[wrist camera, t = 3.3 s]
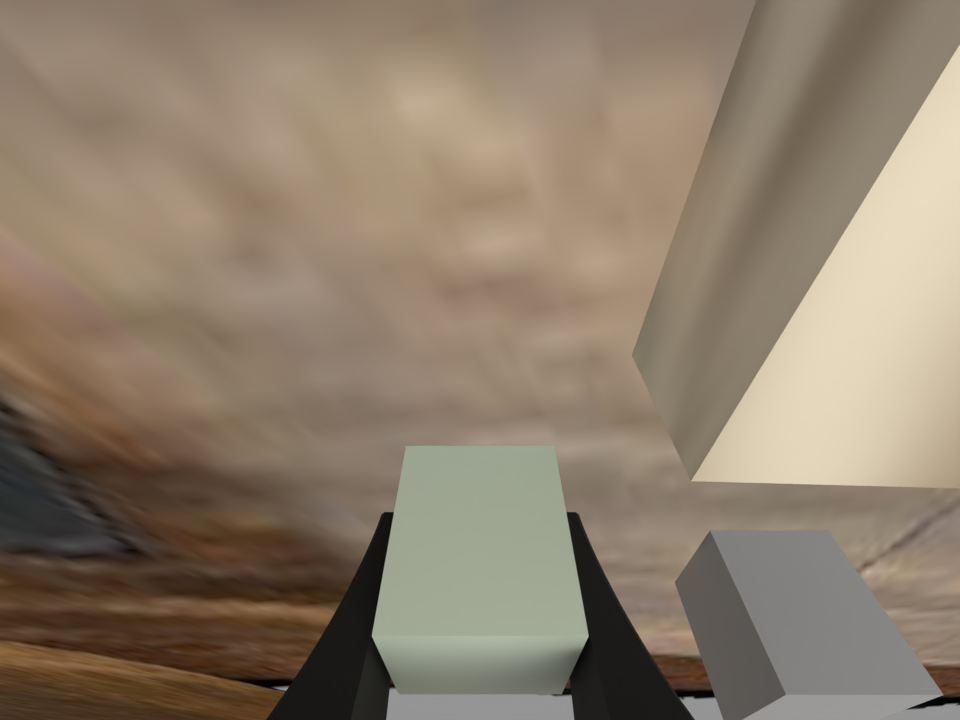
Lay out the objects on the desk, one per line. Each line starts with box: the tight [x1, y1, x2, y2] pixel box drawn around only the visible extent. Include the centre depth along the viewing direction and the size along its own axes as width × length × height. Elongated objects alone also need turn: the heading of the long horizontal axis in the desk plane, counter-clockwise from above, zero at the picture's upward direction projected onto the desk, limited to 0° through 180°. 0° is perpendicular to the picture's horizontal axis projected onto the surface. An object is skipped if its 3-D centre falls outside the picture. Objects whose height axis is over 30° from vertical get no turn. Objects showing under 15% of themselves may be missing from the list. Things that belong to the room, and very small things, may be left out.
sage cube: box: [372, 446, 589, 694], centre depth 12 cm, size 4×4×5 cm
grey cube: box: [675, 530, 943, 720], centre depth 15 cm, size 4×4×5 cm
